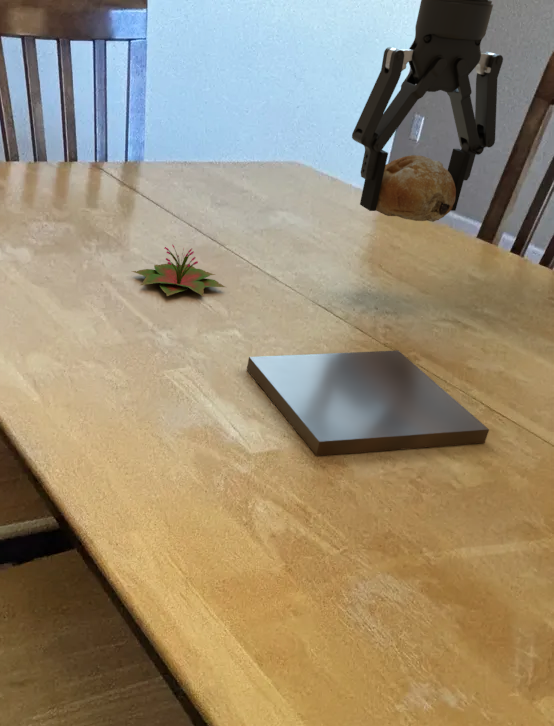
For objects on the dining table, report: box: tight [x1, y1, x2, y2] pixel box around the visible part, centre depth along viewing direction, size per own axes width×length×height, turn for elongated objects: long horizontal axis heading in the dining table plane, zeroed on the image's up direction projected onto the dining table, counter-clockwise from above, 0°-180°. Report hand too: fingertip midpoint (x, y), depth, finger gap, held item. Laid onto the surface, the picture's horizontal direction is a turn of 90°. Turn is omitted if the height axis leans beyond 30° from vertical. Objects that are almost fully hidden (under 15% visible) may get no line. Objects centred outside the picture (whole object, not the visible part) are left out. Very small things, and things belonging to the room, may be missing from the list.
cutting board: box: [246, 349, 490, 457], centre depth 89 cm, size 18×18×2 cm
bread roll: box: [375, 154, 456, 223], centre depth 105 cm, size 10×10×8 cm
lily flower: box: [131, 244, 226, 297], centre depth 111 cm, size 12×12×5 cm
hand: (407, 207), depth 106 cm, fingers closed on bread roll, 10 cm apart
